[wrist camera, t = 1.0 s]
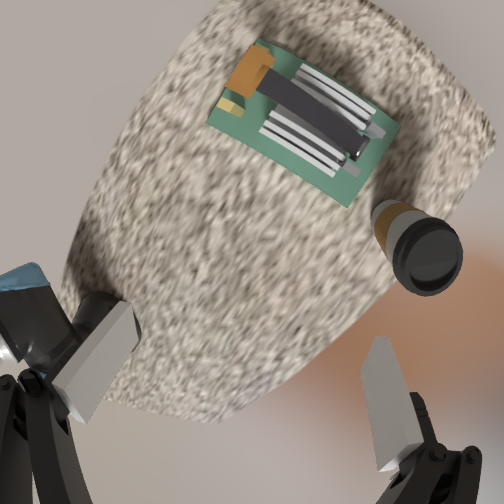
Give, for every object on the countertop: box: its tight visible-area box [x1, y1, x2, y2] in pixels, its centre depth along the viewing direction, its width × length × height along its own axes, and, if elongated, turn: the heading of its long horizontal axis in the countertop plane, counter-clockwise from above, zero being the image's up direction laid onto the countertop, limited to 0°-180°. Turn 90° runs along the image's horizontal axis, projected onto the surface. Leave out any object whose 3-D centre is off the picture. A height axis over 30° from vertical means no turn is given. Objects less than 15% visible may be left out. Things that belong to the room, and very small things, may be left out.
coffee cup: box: [371, 199, 463, 296], centre depth 29 cm, size 8×8×15 cm
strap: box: [224, 45, 371, 162], centre depth 23 cm, size 16×4×1 cm, turn 60°
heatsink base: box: [206, 39, 401, 208], centre depth 28 cm, size 22×14×9 cm, turn 60°
